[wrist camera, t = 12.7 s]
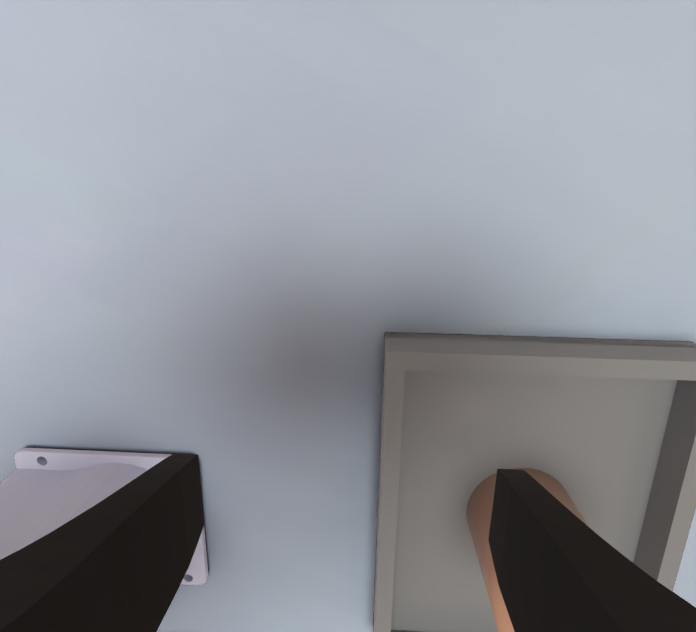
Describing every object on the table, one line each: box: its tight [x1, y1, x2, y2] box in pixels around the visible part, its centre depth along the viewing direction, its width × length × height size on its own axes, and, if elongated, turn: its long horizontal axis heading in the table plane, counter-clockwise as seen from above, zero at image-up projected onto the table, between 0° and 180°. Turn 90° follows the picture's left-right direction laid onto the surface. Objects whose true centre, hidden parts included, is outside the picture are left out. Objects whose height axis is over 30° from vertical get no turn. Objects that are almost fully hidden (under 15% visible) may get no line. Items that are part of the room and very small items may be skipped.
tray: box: [373, 332, 696, 632], centre depth 21 cm, size 14×18×2 cm
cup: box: [466, 468, 590, 632], centre depth 18 cm, size 5×5×8 cm
